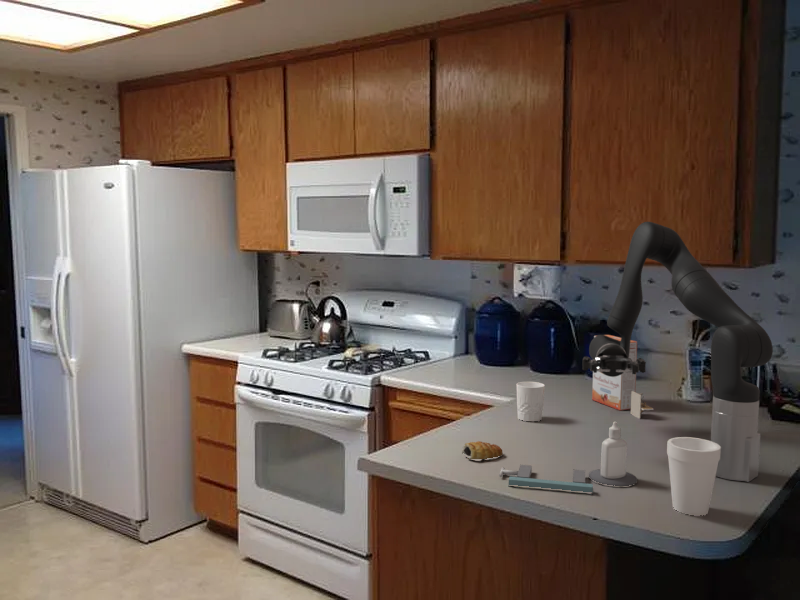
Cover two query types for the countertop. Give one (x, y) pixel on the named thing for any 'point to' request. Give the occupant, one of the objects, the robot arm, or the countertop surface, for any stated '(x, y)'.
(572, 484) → the vise
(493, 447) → the pastry
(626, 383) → the cracker box
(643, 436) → the countertop surface
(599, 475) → the mat
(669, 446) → the foam cup
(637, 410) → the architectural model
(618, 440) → the eye dropper bottle
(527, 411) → the white cup
